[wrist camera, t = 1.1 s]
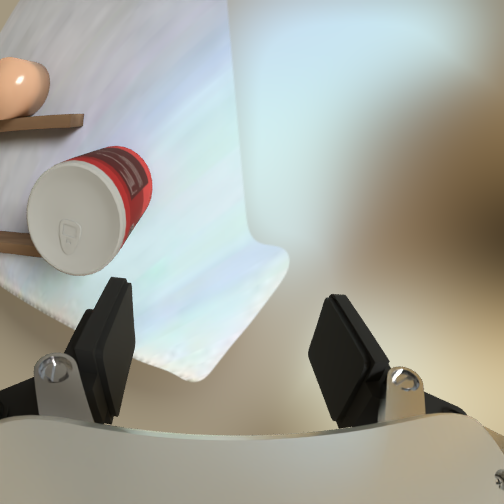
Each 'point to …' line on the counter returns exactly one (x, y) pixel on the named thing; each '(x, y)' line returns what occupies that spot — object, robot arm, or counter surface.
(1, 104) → the peach egg shape
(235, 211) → the counter surface
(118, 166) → the canned food
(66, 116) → the wooden u-shaped frame
